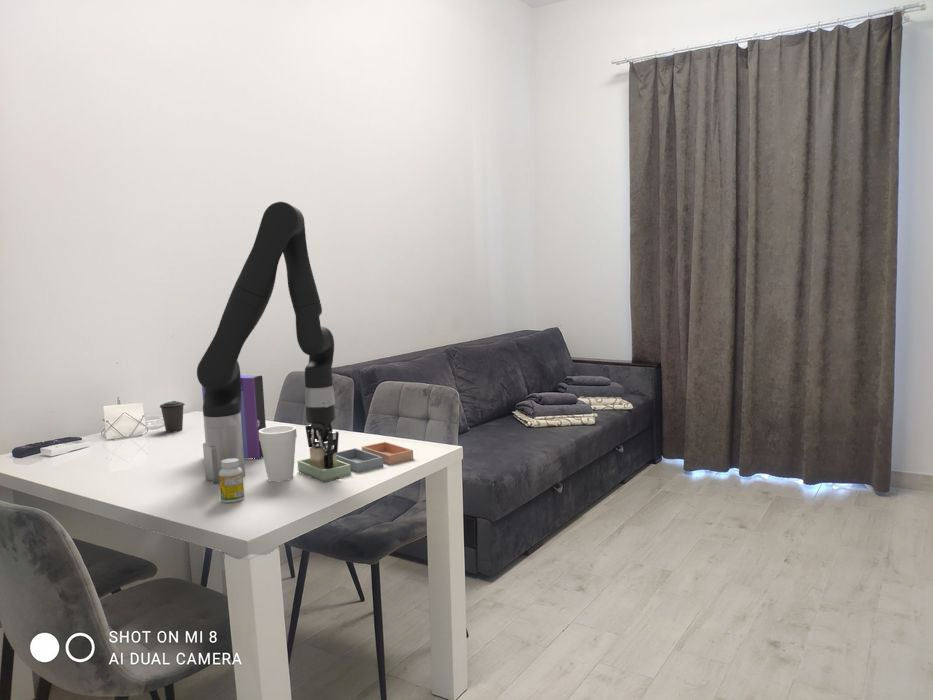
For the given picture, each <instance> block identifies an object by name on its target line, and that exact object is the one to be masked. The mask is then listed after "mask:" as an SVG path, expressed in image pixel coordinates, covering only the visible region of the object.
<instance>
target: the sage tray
mask: <svg viewBox="0 0 933 700" xmlns="http://www.w3.org/2000/svg"><path fill="white" fill-rule="evenodd" d="M297 471H299V472H298V473H300V472H301V473H300V474H302V473H303V475H305V476H308V477H309V476H310V477H309V478H312V479H314V480H316V481H318V482H321V483H328V482H332V481H337V480H341V478H340V477H345V476H349V475H351V474H352V470H351V465H350V464H347V463H344V462H342V461H339V460H337V467H333V468H331V469H323V470H321V469H319V468H317V467H314V466H312V465H311V461H310V457H309V458H305V459H301V460H297ZM336 479H337V480H336Z"/></svg>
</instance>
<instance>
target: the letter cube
mask: <svg viewBox="0 0 933 700" xmlns="http://www.w3.org/2000/svg"><path fill="white" fill-rule="evenodd" d="M326 448H327V446H326ZM333 448H334V446H333ZM309 458H310V461H311V465H312V466H314V467H317V468H319V469H321V470H323V469H325V466H324V452H323V448H322V447H321V446H318V447H313V448H311V447H309ZM333 467H337V458H336V453H334V454H333Z"/></svg>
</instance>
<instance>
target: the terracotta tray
mask: <svg viewBox="0 0 933 700" xmlns="http://www.w3.org/2000/svg"><path fill="white" fill-rule="evenodd" d="M361 450H363V451H366V452H369V453H372V454H375V455H378V456H381V457H383V464H387V465H393V464H397V463H400V462H401V463H402V462H405V461H409V460H414V451H413V450H414V449H410V448H407V447H404V446H401V445H397V444H394V443H390V442H388V441H383V442H378V443H377V442H376V443H374V444H373V443H372V444H368V445H364V446H361Z"/></svg>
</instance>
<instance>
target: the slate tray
mask: <svg viewBox="0 0 933 700" xmlns="http://www.w3.org/2000/svg"><path fill="white" fill-rule="evenodd" d="M336 458H337V460H339V461H342V462H344V463H347V464H350V465H351V471H353V472H356V473H361V472H364V471H365V472H366V471H369V470H372V469H377V468H381V467H384V463H383V457H381V456H378V455H375V454H372V453H369V452H366V451H363V450H362V449H359V448H351V449H346V450H342V451H338V452H337V453H336Z"/></svg>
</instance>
